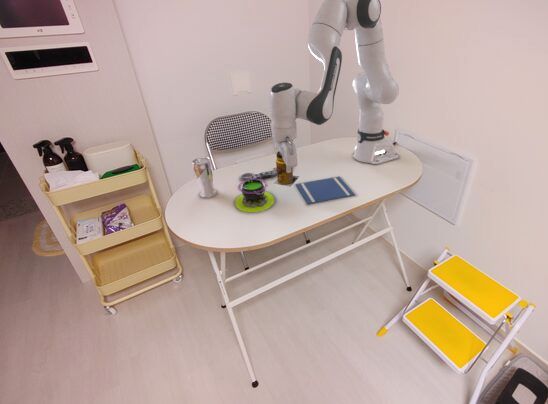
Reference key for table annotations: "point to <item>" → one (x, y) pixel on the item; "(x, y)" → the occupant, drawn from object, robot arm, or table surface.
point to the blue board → (324, 190)
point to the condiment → (284, 173)
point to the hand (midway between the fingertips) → (286, 167)
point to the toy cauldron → (254, 196)
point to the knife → (262, 175)
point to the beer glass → (204, 176)
